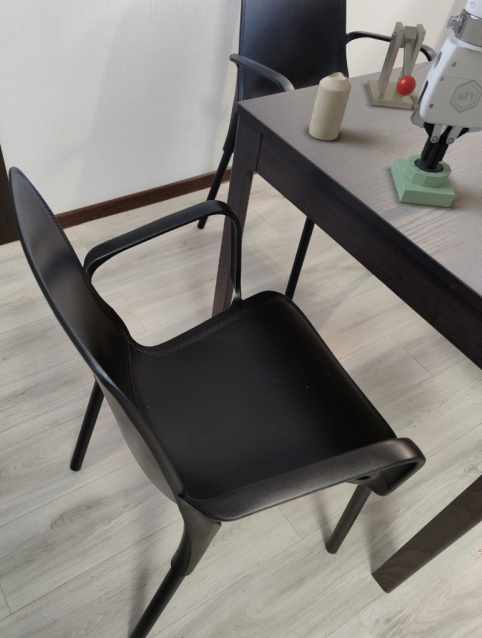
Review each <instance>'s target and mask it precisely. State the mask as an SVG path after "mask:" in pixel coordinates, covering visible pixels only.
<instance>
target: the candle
mask: <svg viewBox="0 0 482 638" xmlns="http://www.w3.org/2000/svg"><path fill="white" fill-rule="evenodd" d="M351 90H352V85H351V83H350V80H349V79H348V77H345V75H344V74H343V73H342V72H340V71H338V72H333V73H332V74H330V75H327V76H326V77H323V78H322V79H321V80H319V84H318V87H317V93H316V97H315V100H314V101H315V102H314V105H313V110H312V115H311V119H310V124H309V127H308V133H309V135H310V136H311V137H313V138H315V139H317V140H321V141H333V140H335V139H336V140H337V138H338V136H339V133H340V131H341V127H342V124H343V120H344V116H345V114H346V113H345V112H346V109H347V105H348V102H349V97H350V95H351Z"/></svg>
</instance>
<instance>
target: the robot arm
mask: <svg viewBox="0 0 482 638" xmlns="http://www.w3.org/2000/svg"><path fill="white" fill-rule="evenodd" d="M446 28H447V29H450V30H452V31H453V33H454V34H453V35H452V34H450V35H449V36H448V37H447V38H446V40H445V41H444V43H443V45H442V47H441V49H440V50H439V52H438V54H437V55H436V57H435V59H434V61H433V63H432V65H431V67H430V68H429V71H428V73H427V74H426V75H427V76H426V78H425V79H424V82H423V84H422V87H421V89H420V92H419V94H418V97H417V100H416V104H415V105H416V107H415V108H414V110H413V112H412V114H411V115H410V117H409V120H410V122H411V124H412V125H414V126H417V127H419V128H422V129H424V130H425V132H426V134H427V135H428V137H427V139H426V141H425V143H424V146H423V148H422V150H421V153H420V154H421V159H422V161H423V164H424V167H425V168H429V167H431V168H432V169H436V167H437V165H438V163H439V162H441V161H442V160H443V159H444V157H445V155H446V153H447V151H448V148H449V147H450V145H453V144H454V143H455V141H456V140H457V139H459V138H461V137H463V136H464V135H466V134H467V133H478V132H482V0H467V1H466V3H465V6H464V8H462V10H461V12H460V13H459V15H455V16H452V15H450V17H449V18H448V21H447V22H446ZM444 126H445V127H444ZM443 127H444V129H443ZM442 130H443V131H442Z"/></svg>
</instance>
